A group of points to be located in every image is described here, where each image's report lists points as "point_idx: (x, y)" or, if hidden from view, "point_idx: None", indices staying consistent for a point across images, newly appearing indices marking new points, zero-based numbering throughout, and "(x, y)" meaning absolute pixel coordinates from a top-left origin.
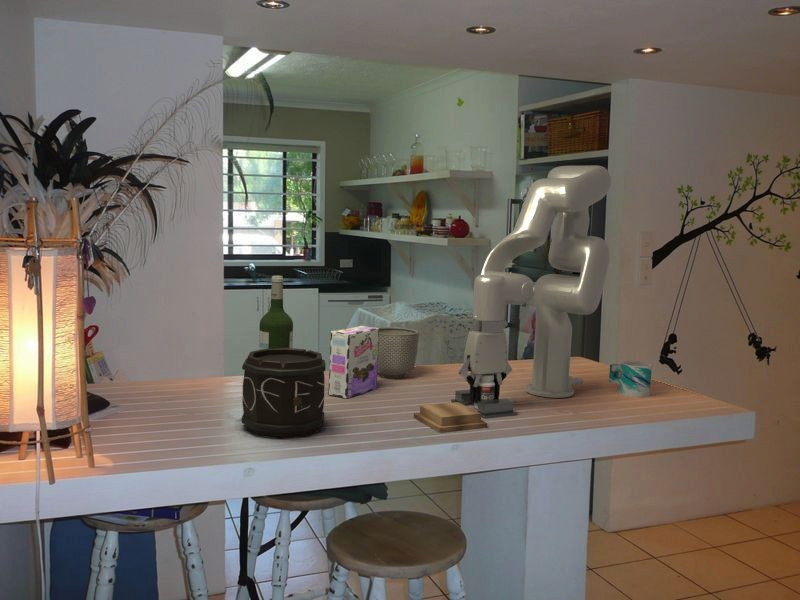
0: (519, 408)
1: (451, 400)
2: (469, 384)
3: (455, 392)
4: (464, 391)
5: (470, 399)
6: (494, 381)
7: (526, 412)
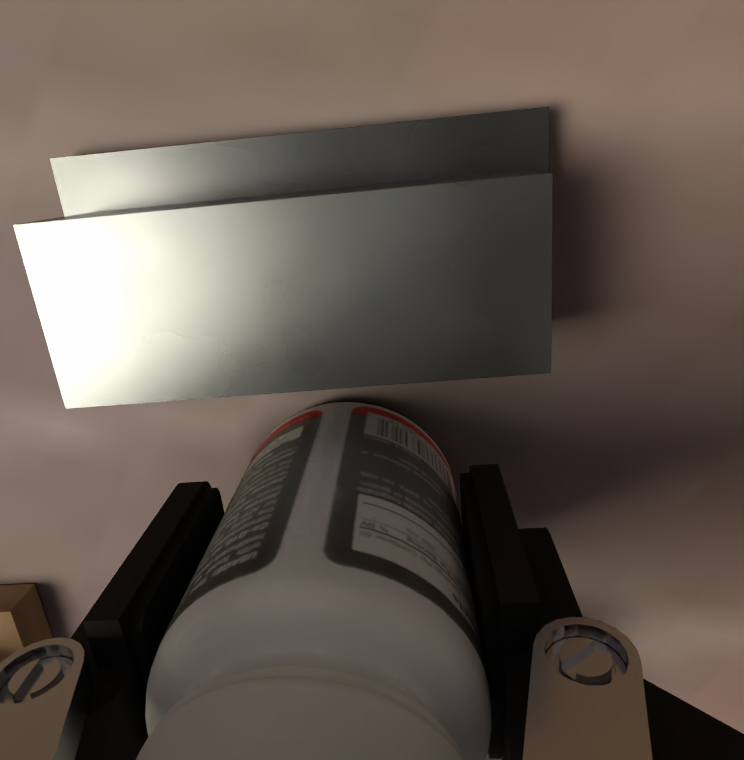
0: (718, 574)
1: (57, 167)
2: (35, 664)
3: (29, 222)
4: (149, 293)
5: (180, 488)
6: (517, 745)
7: (683, 691)
